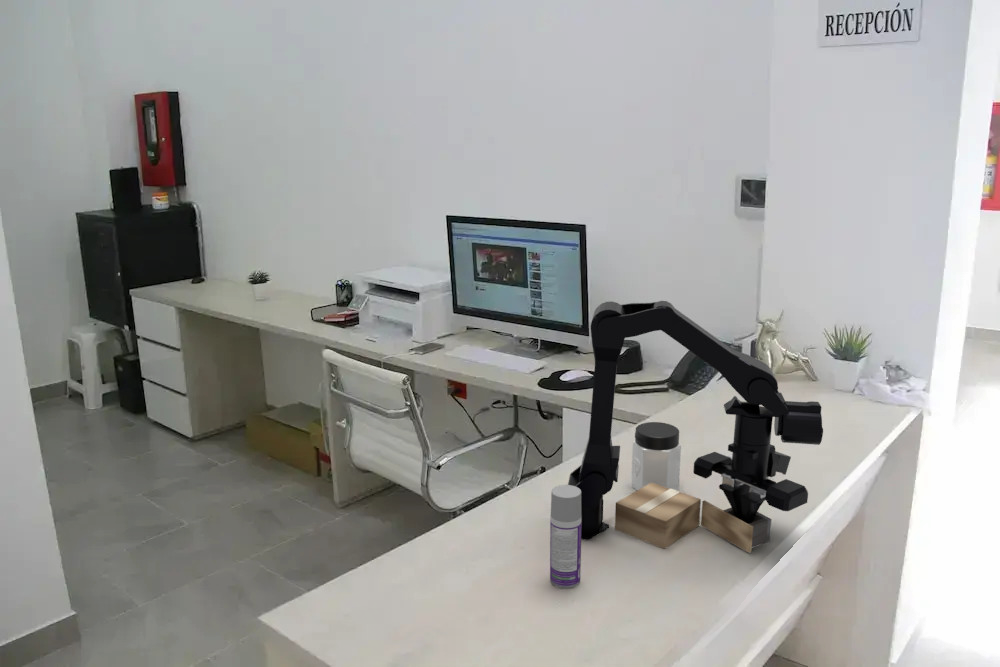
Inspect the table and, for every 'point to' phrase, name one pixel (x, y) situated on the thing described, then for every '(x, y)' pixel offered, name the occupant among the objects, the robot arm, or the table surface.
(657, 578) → the table surface
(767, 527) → the flap
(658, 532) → the carton
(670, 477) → the jar
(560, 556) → the container
